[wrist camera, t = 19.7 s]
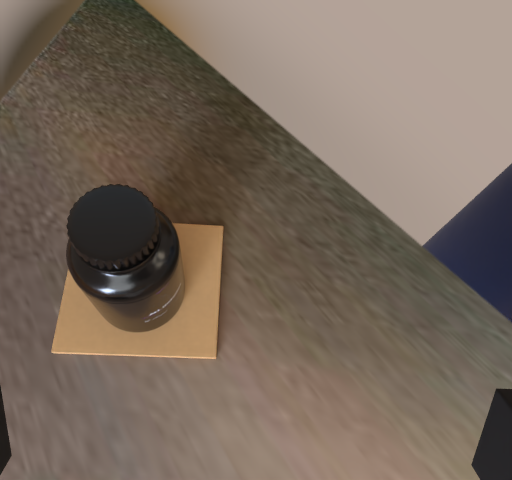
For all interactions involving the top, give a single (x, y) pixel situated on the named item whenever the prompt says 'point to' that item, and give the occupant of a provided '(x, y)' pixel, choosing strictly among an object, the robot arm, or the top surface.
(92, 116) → the top surface
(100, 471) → the top surface
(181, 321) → the cork mat
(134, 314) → the supplement bottle
